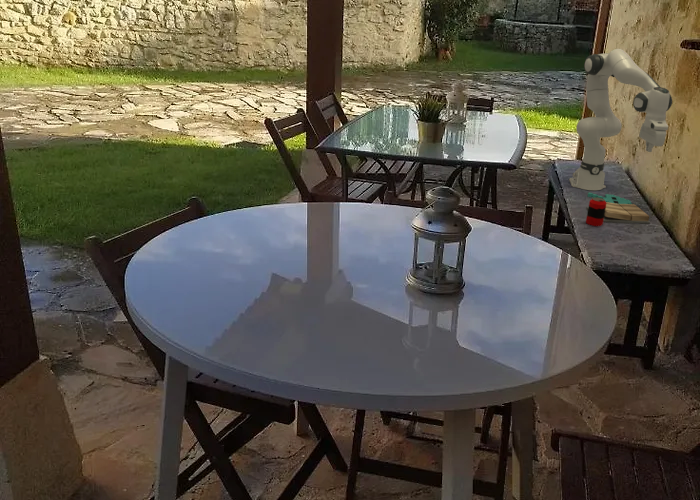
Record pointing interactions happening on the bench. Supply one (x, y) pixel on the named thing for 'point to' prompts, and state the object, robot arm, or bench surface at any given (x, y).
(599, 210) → the soda can
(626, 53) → the robot arm
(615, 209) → the board
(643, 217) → the laid plank
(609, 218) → the underlay mat
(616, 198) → the alien figure
